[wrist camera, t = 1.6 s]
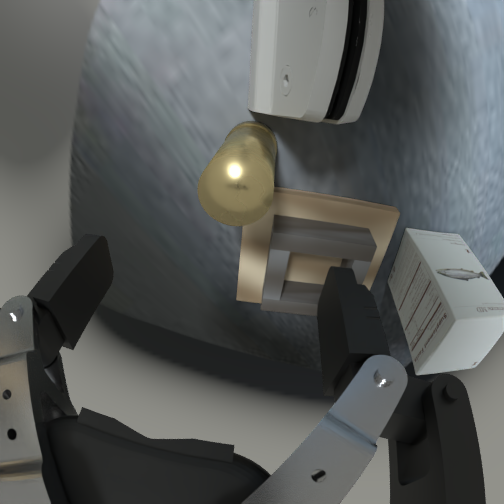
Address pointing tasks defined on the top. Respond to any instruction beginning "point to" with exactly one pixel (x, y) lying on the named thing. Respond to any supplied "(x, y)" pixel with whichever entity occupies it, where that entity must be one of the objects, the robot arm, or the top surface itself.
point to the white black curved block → (314, 58)
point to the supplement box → (444, 302)
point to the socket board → (310, 261)
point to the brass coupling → (240, 176)
